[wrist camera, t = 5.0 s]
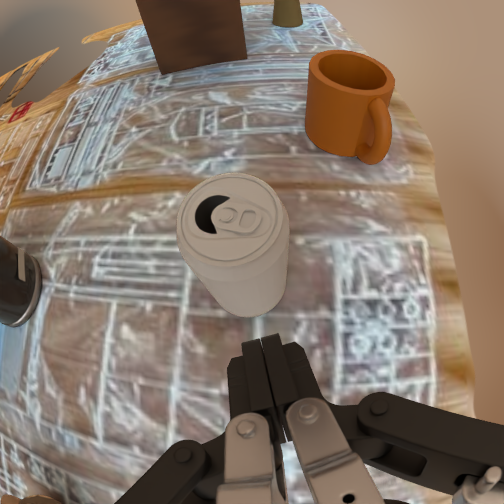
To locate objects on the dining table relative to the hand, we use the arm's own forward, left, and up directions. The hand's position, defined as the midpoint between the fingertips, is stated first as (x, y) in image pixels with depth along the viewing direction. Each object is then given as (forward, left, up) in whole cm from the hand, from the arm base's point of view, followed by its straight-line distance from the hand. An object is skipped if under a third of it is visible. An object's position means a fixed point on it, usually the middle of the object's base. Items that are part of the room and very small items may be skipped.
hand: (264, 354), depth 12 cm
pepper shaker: (+3, +59, -13) cm, 61 cm away
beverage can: (-2, +7, -13) cm, 15 cm away
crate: (-12, +48, -13) cm, 51 cm away
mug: (+8, +24, -13) cm, 29 cm away
